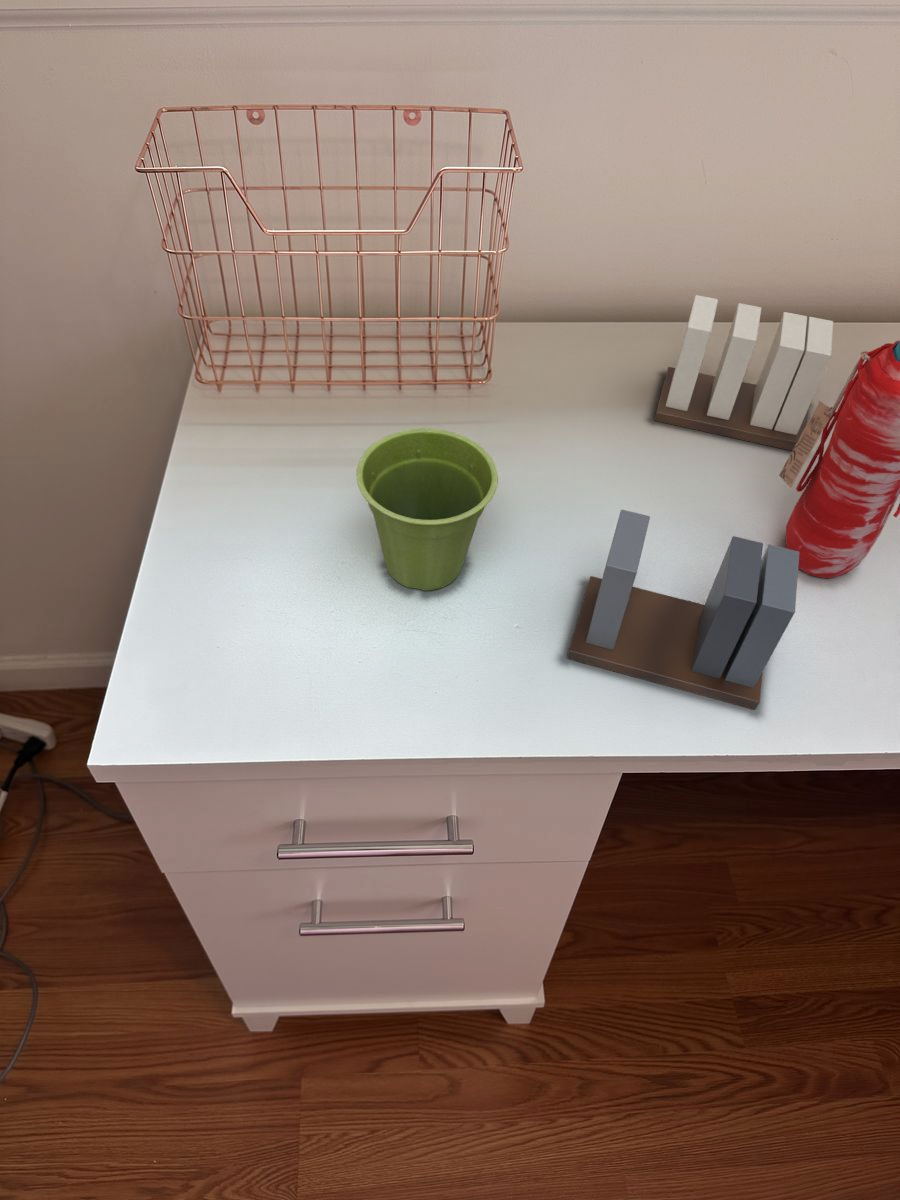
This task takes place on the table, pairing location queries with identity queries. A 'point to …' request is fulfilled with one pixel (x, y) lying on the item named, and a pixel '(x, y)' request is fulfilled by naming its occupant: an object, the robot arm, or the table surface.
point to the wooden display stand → (758, 409)
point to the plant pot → (426, 501)
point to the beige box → (734, 361)
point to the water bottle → (848, 469)
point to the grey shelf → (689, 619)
